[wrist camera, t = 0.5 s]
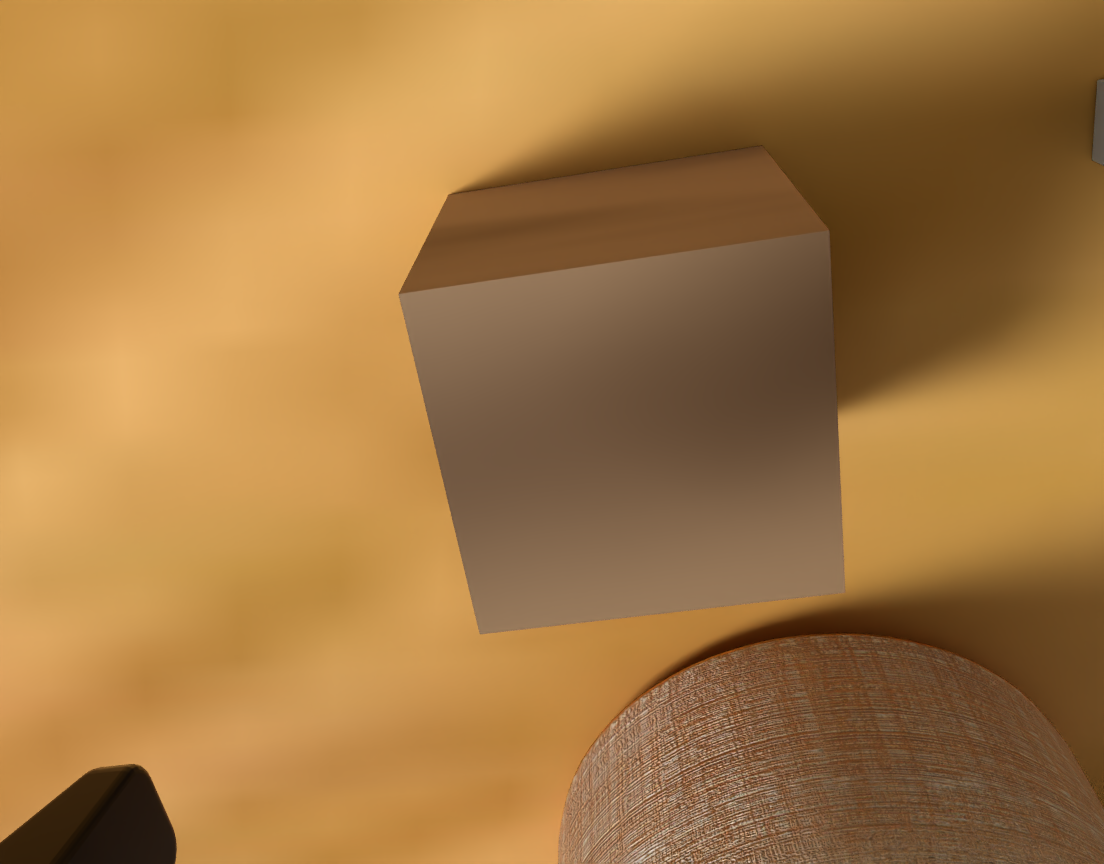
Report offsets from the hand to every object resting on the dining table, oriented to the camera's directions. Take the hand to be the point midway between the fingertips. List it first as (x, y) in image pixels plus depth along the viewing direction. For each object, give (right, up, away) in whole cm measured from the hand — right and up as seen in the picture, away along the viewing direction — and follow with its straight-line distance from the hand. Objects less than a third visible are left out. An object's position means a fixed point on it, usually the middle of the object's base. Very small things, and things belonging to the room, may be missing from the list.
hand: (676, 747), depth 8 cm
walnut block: (0, +5, +9) cm, 10 cm away
